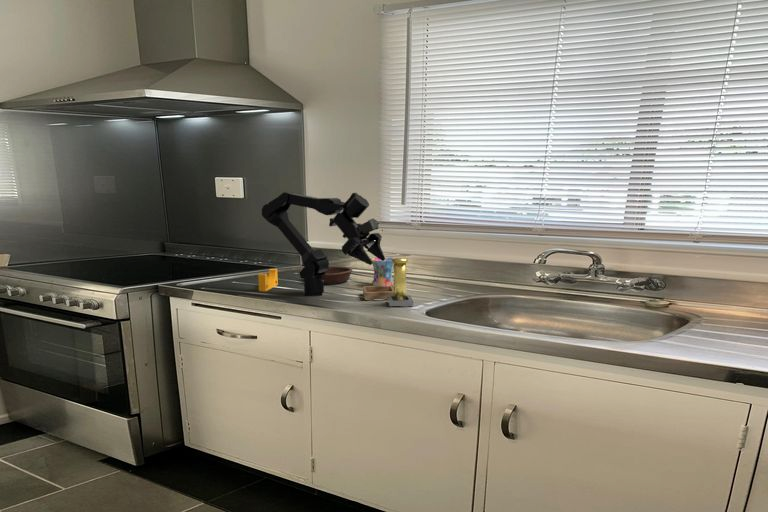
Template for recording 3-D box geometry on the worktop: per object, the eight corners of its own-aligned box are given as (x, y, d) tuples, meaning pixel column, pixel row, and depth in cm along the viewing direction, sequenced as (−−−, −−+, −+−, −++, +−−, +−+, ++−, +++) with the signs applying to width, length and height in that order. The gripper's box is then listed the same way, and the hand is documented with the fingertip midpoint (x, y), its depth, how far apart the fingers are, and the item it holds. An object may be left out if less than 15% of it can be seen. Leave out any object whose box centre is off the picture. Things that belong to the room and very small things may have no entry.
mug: (384, 289, 191) (384, 261, 190) (365, 286, 197) (365, 259, 196) (404, 284, 201) (404, 257, 199) (385, 281, 206) (385, 255, 205)
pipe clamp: (267, 284, 202) (266, 268, 201) (277, 285, 201) (277, 269, 200) (254, 291, 190) (253, 274, 189) (265, 291, 189) (264, 274, 188)
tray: (364, 300, 174) (364, 292, 174) (363, 293, 184) (363, 286, 184) (395, 300, 175) (395, 291, 175) (392, 293, 185) (392, 285, 185)
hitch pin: (392, 306, 167) (392, 260, 164) (391, 302, 172) (391, 257, 170) (408, 305, 167) (409, 260, 165) (406, 302, 172) (406, 257, 170)
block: (389, 307, 165) (389, 301, 165) (387, 301, 173) (387, 295, 173) (413, 306, 166) (413, 300, 166) (409, 301, 174) (409, 295, 173)
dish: (364, 279, 211) (364, 267, 211) (328, 289, 194) (327, 276, 193) (333, 275, 222) (332, 263, 221) (295, 283, 204) (295, 271, 203)
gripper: (349, 212, 163) (380, 249, 159) (376, 209, 179) (405, 242, 176) (328, 236, 167) (358, 272, 164) (357, 230, 184) (384, 263, 181)
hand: (378, 262), depth 171 cm, fingers open, 9 cm apart
